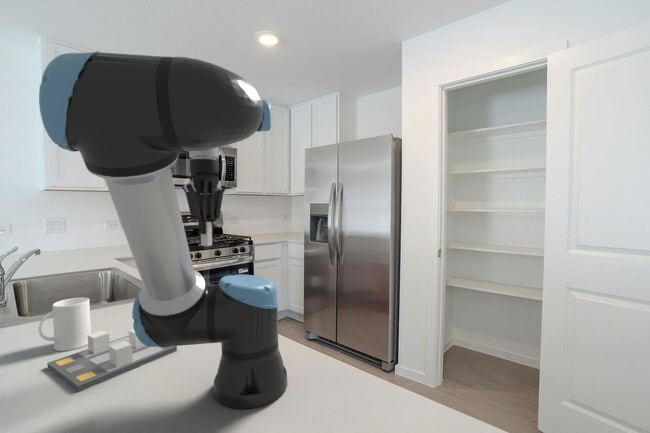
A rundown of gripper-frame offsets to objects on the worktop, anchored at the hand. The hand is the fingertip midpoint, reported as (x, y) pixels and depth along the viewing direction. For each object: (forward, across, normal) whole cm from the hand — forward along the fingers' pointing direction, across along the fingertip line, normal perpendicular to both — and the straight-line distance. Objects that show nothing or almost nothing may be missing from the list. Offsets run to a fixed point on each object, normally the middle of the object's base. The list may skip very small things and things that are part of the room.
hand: (206, 245), depth 91 cm
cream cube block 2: (+26, +13, -12) cm, 31 cm away
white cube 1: (+26, +20, -7) cm, 33 cm away
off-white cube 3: (+26, +20, -18) cm, 37 cm away
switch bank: (+27, +19, -12) cm, 35 cm away
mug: (+27, +22, -32) cm, 47 cm away
